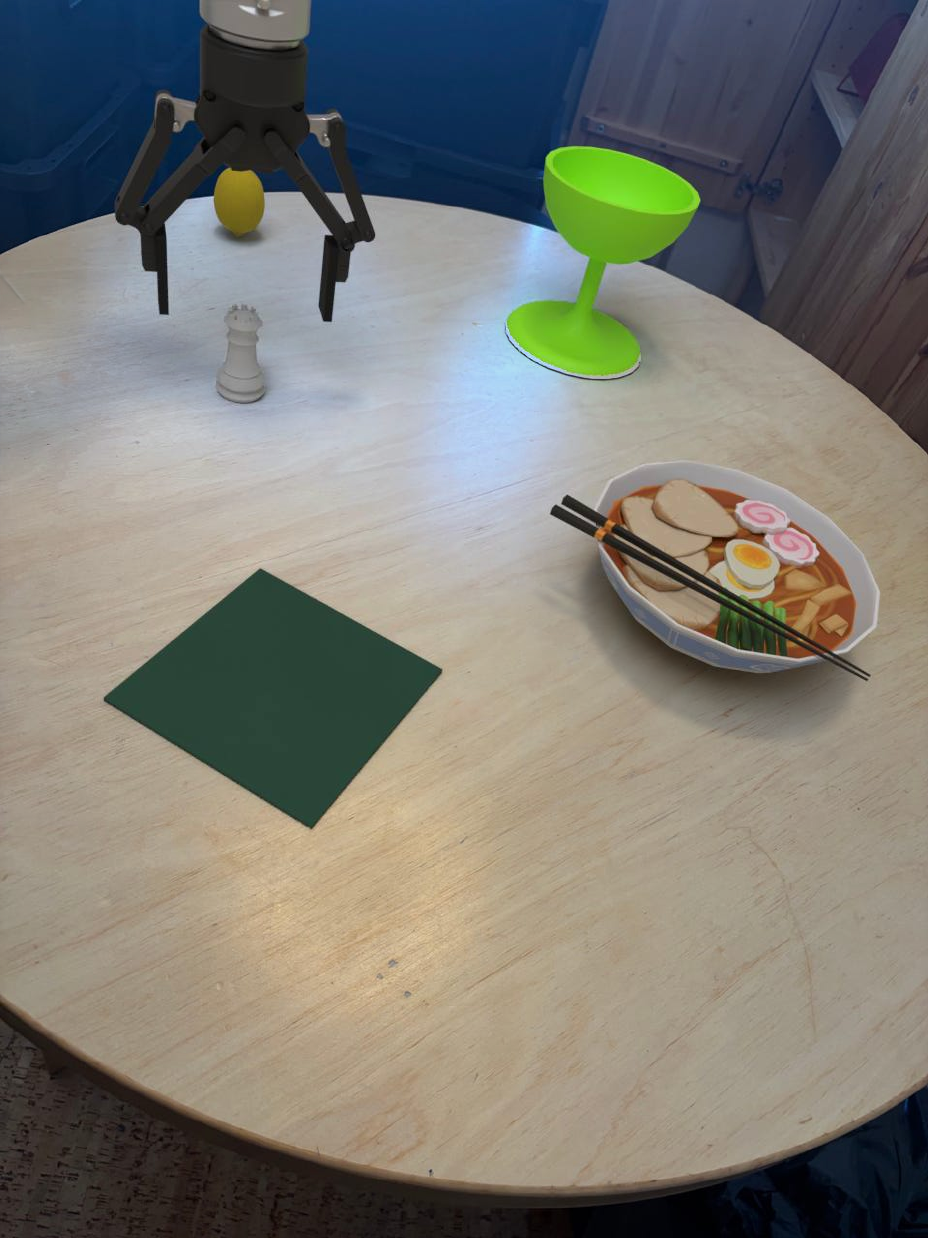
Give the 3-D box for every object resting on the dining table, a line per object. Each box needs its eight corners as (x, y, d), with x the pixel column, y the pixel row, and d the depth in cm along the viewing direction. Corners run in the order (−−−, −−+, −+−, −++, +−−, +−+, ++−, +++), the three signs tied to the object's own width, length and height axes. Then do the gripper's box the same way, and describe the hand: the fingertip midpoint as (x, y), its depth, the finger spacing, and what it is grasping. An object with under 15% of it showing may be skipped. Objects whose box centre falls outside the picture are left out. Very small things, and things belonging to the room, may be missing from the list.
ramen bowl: (880, 624, 82) (931, 553, 76) (795, 789, 67) (851, 716, 61) (630, 487, 89) (660, 413, 83) (502, 608, 74) (528, 527, 68)
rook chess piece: (231, 409, 85) (233, 328, 79) (206, 383, 87) (206, 302, 81) (274, 398, 87) (279, 319, 82) (249, 373, 89) (253, 294, 84)
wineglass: (640, 394, 101) (702, 229, 89) (495, 356, 101) (537, 185, 89) (642, 327, 113) (698, 172, 101) (513, 292, 113) (552, 133, 100)
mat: (103, 700, 60) (103, 697, 60) (259, 570, 71) (260, 567, 71) (311, 829, 57) (311, 826, 56) (441, 672, 68) (442, 669, 68)
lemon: (246, 222, 112) (249, 152, 106) (271, 243, 109) (276, 172, 104) (204, 227, 109) (204, 155, 103) (228, 249, 106) (230, 176, 100)
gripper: (62, 22, 61) (90, 326, 75) (437, 71, 68) (396, 338, 83) (64, -11, 65) (90, 281, 80) (413, 39, 73) (379, 296, 88)
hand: (246, 310), depth 82 cm, fingers open, 13 cm apart
